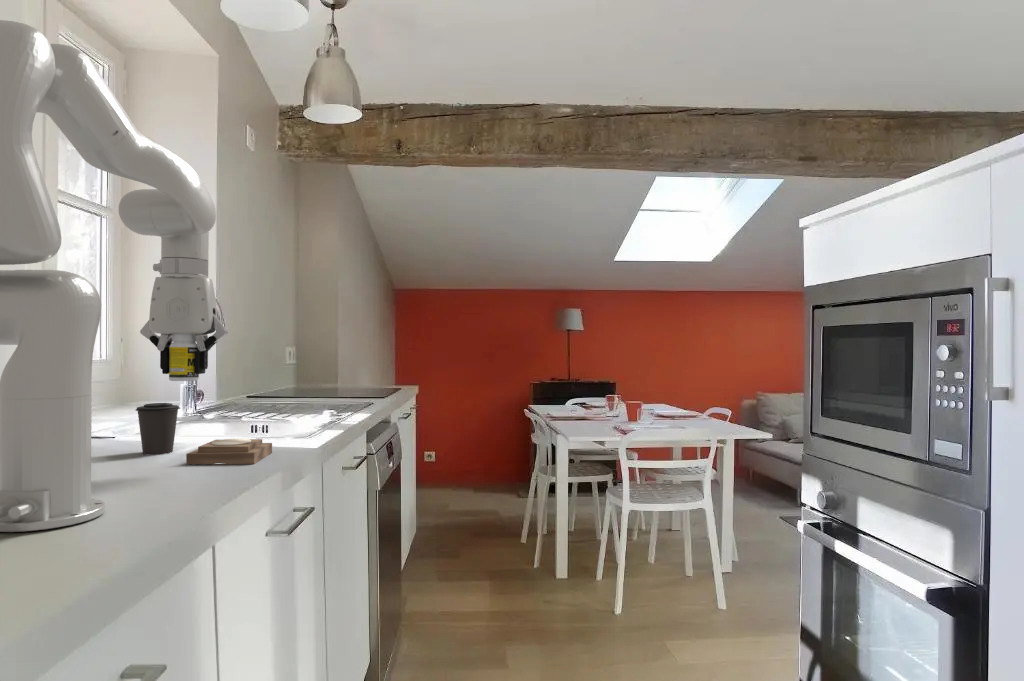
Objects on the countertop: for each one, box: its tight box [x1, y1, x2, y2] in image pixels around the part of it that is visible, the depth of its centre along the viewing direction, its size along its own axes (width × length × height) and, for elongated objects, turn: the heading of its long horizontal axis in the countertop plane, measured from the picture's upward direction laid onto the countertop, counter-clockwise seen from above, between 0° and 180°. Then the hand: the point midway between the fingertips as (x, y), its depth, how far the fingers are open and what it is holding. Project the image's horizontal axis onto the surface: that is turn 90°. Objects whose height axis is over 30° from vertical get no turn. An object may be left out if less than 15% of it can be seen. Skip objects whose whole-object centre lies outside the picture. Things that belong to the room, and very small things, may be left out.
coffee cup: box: [135, 402, 181, 455], centre depth 132 cm, size 8×8×10 cm
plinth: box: [185, 438, 273, 465], centre depth 125 cm, size 12×12×3 cm
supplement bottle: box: [168, 334, 200, 382], centre depth 115 cm, size 5×5×8 cm
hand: (184, 372), depth 115 cm, fingers closed on supplement bottle, 4 cm apart
